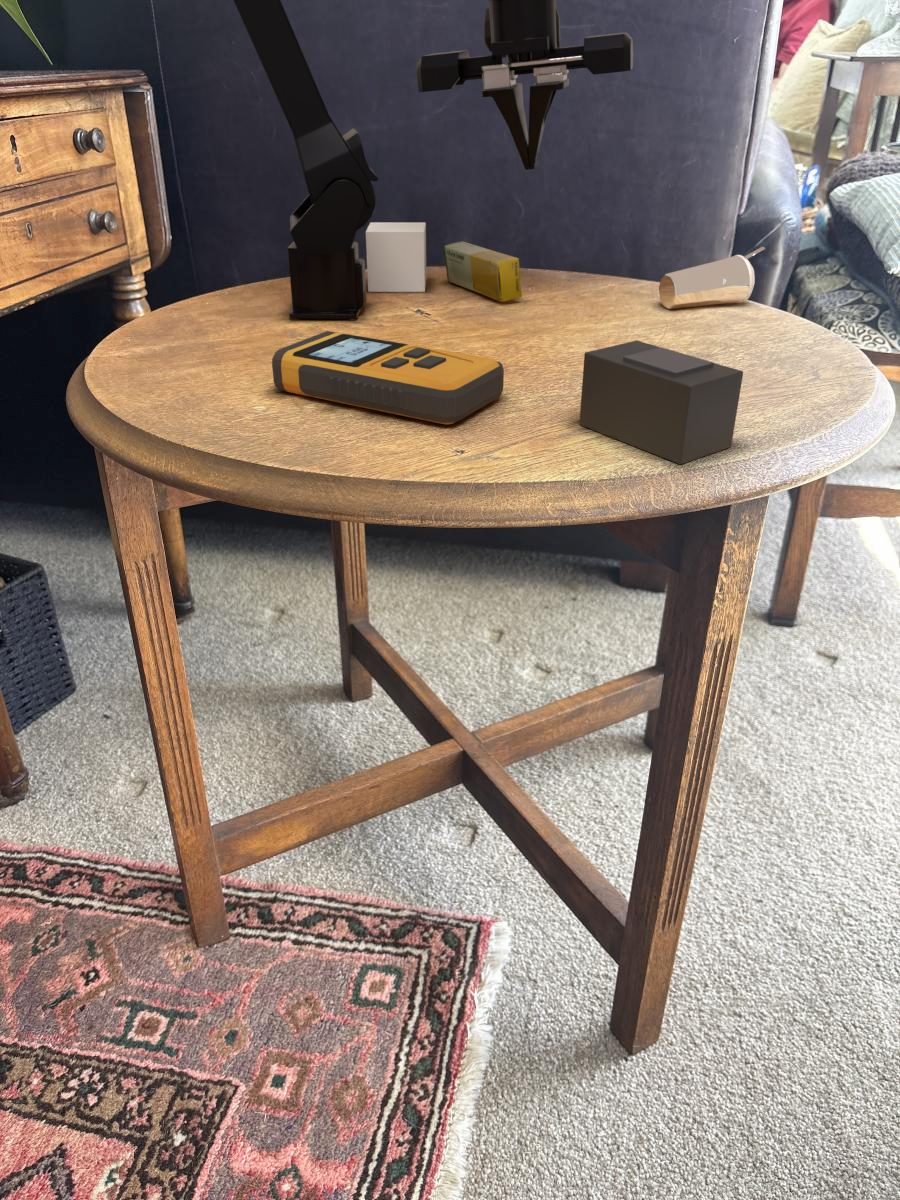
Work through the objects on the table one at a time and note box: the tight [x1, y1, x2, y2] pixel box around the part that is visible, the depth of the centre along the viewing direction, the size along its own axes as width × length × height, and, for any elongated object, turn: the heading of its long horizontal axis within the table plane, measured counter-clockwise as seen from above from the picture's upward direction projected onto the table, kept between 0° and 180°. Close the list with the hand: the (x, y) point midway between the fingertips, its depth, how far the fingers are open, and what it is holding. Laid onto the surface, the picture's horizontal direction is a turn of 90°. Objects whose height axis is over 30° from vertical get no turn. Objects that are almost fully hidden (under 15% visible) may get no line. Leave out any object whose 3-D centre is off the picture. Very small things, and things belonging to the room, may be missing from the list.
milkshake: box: [658, 246, 766, 310], centre depth 93 cm, size 5×5×10 cm
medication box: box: [443, 240, 523, 303], centre depth 98 cm, size 12×3×4 cm, turn 27°
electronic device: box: [271, 330, 505, 425], centre depth 69 cm, size 8×16×3 cm, turn 59°
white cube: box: [365, 221, 427, 293], centre depth 100 cm, size 6×6×6 cm
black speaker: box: [578, 339, 744, 465], centre depth 61 cm, size 5×5×9 cm
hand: (530, 168), depth 88 cm, fingers closed
